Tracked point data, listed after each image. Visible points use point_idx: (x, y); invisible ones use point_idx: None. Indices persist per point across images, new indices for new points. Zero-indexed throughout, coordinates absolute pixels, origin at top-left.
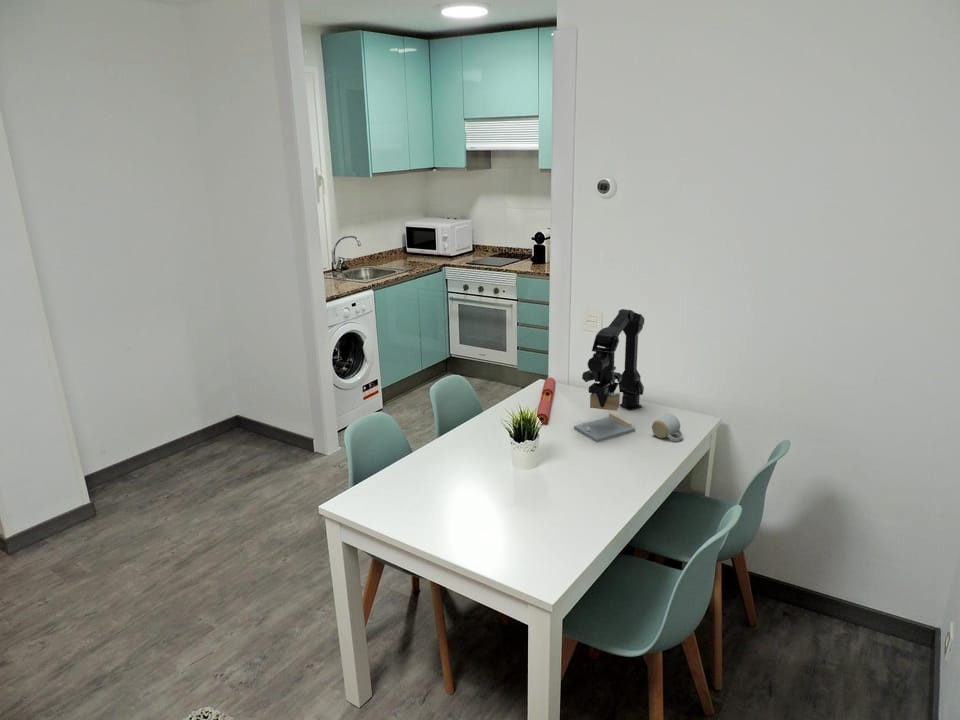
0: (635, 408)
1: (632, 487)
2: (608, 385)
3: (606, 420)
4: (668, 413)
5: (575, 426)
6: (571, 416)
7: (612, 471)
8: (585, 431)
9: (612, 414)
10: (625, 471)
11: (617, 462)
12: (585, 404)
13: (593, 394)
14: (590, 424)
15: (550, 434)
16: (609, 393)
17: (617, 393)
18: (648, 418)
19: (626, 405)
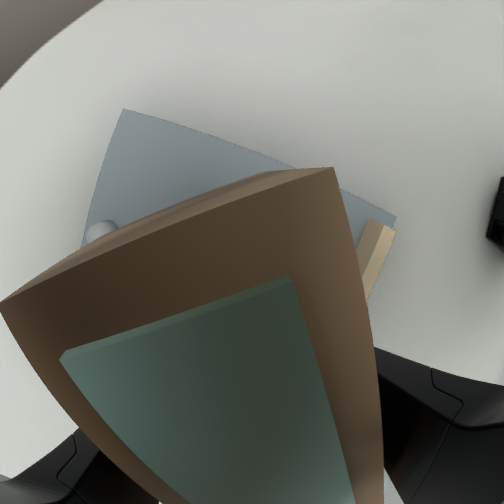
0: (499, 248)
1: (13, 465)
2: (472, 499)
3: None
4: (386, 489)
5: (121, 120)
6: (285, 12)
7: (6, 426)
8: (97, 217)
9: (378, 253)
10: (33, 449)
11: (41, 427)
12: (442, 34)
13: (74, 343)
14: (209, 176)
15: (17, 82)
16: (316, 501)
17: (377, 500)
18: (445, 336)
19: (501, 220)
